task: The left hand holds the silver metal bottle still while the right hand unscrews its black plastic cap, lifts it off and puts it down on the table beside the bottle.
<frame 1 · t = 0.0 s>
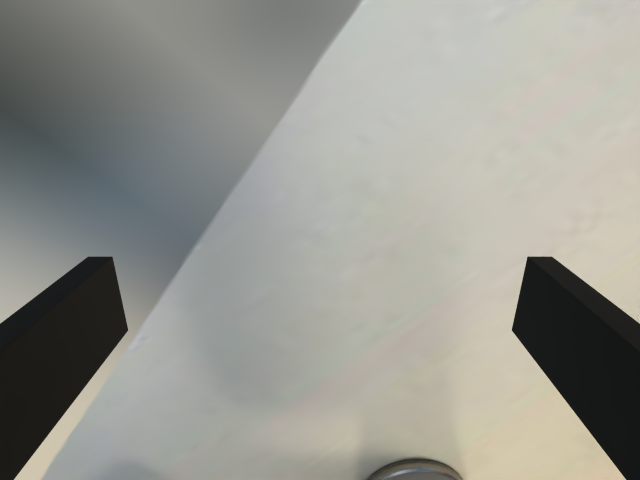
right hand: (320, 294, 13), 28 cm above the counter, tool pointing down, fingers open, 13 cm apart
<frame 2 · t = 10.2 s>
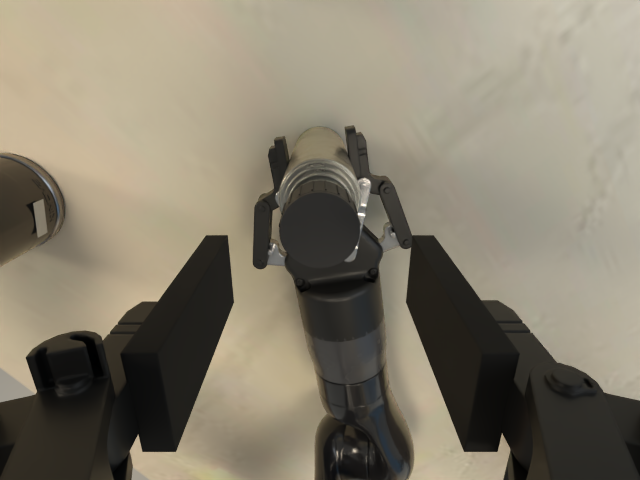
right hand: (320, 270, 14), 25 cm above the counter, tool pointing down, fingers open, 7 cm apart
left hand: (314, 133, 31), fingers closed on bottle, 5 cm apart
bottle: (319, 152, 38), on the counter, touching left hand
cap: (319, 229, 18), point 21 cm above the counter, screwed on, not yet turned
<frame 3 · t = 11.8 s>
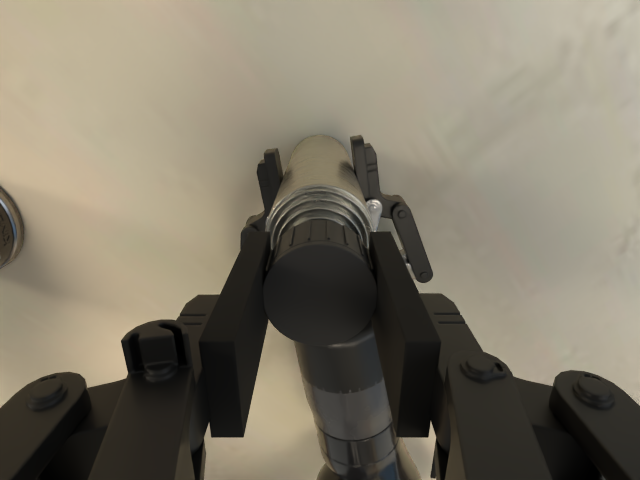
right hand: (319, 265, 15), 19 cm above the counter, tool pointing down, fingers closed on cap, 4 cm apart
left hand: (313, 145, 25), fingers closed on bottle, 5 cm apart
bottle: (319, 165, 32), on the counter, touching left hand
cap: (319, 293, 13), point 21 cm above the counter, screwed on, not yet turned, touching right hand
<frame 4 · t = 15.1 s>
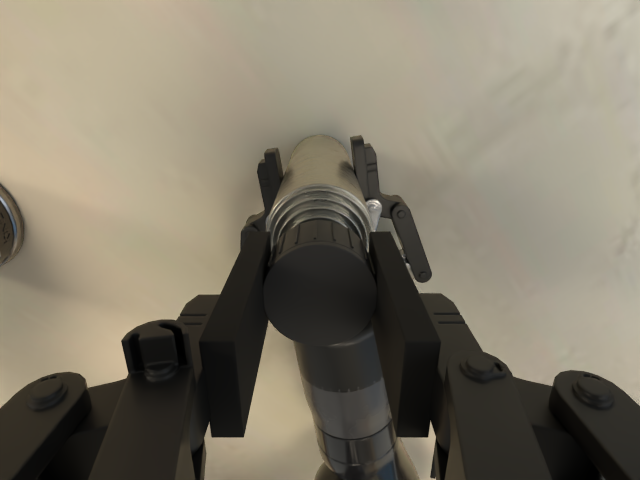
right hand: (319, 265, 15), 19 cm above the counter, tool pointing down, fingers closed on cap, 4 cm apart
left hand: (313, 145, 25), fingers closed on bottle, 5 cm apart
bottle: (319, 165, 32), on the counter, touching left hand
cap: (319, 293, 13), point 21 cm above the counter, turned 127° so far, risen 0.1 cm, still on its thread, touching right hand
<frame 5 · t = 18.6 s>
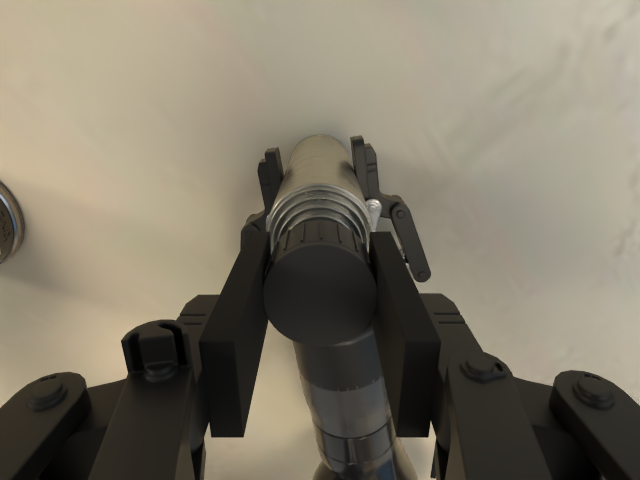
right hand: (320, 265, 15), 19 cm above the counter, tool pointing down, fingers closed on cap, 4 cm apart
left hand: (313, 145, 25), fingers closed on bottle, 5 cm apart
bottle: (319, 164, 32), on the counter, touching left hand
cap: (319, 293, 13), point 21 cm above the counter, turned 254° so far, risen 0.2 cm, still on its thread, touching right hand
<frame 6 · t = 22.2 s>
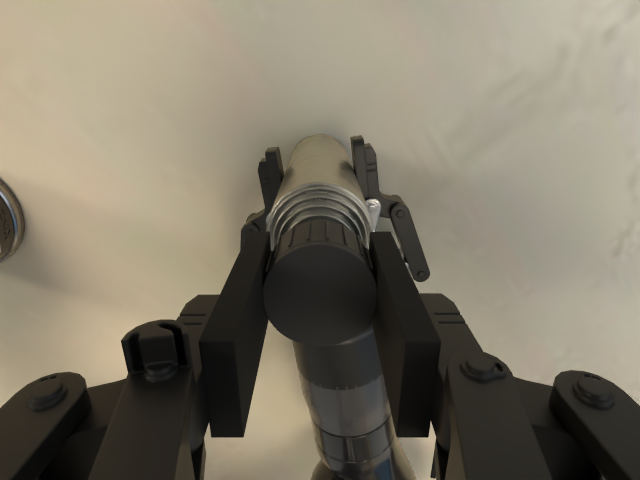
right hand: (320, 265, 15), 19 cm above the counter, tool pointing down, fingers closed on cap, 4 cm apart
left hand: (313, 144, 25), fingers closed on bottle, 5 cm apart
bottle: (319, 164, 33), on the counter, touching left hand
cap: (319, 293, 13), point 21 cm above the counter, turned 381° so far, risen 0.4 cm, still on its thread, touching right hand
when the right hand's fingers open (1 cm above the counter, at t = 28.4 s): cap drops 1 cm, point 2 cm above the counter.
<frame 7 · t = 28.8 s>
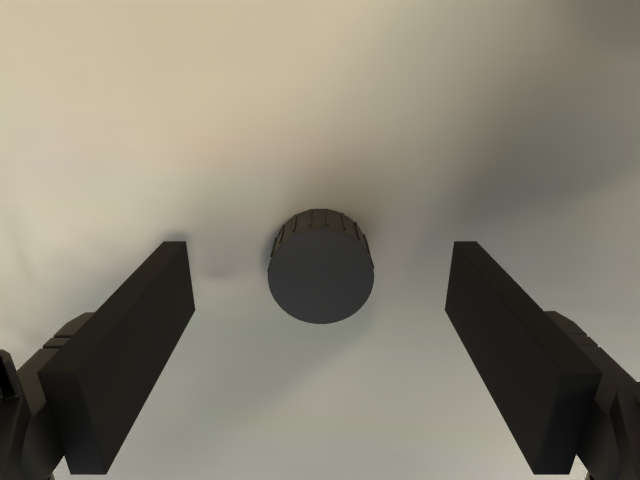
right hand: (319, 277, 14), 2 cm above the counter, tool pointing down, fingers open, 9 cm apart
cap: (320, 275, 14), point 2 cm above the counter, off its thread
when the left hand's fingers open (7 cm above the counter, at t = 29.7 s): bottle stays where it is, on the counter.
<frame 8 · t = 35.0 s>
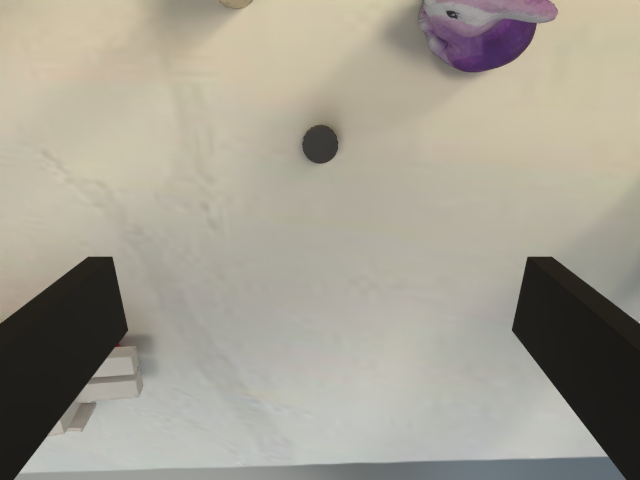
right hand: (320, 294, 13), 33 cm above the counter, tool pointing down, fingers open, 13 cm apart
toy: (39, 348, 54), on the counter
cap: (320, 145, 42), point 2 cm above the counter, off its thread
figurine: (459, 27, 40), on the counter
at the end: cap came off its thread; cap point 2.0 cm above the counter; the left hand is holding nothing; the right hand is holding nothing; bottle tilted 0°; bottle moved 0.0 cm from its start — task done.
